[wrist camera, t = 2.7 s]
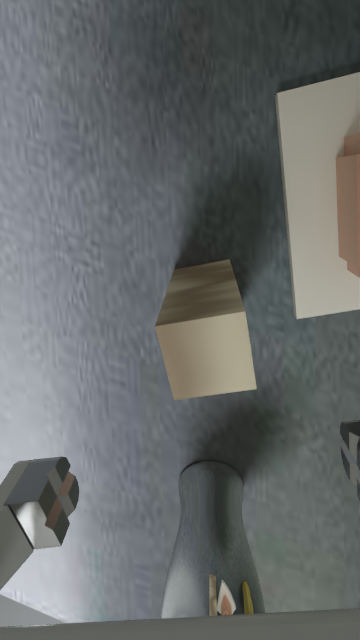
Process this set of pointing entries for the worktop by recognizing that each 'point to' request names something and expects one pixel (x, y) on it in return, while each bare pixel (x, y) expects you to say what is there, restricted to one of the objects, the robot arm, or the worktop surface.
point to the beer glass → (211, 548)
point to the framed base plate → (322, 193)
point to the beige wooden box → (205, 332)
